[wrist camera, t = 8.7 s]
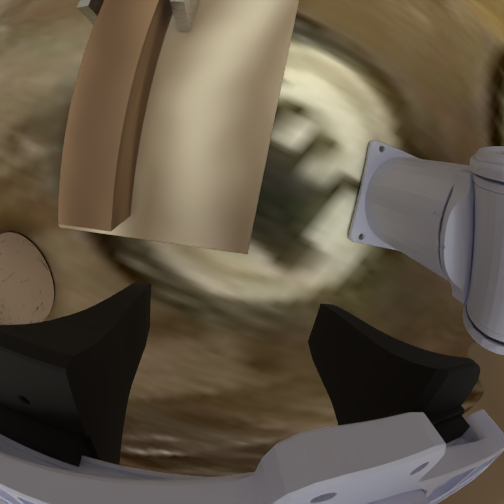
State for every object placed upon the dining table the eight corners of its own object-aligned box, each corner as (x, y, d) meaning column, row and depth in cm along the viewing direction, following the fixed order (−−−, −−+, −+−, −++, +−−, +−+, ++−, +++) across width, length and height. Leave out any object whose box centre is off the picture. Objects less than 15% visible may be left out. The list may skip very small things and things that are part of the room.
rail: (181, -11, 13) (177, -41, 9) (130, 216, 18) (110, 231, 14) (136, -11, 12) (123, -38, 8) (85, 210, 17) (58, 224, 13)
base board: (303, -30, 13) (306, -36, 13) (245, 249, 21) (247, 254, 20) (136, -47, 11) (134, -53, 10) (65, 223, 18) (59, 227, 17)
